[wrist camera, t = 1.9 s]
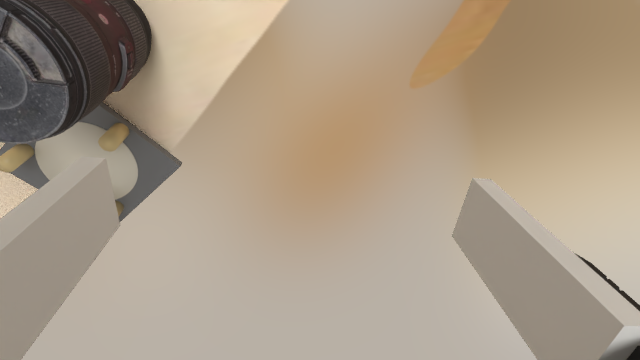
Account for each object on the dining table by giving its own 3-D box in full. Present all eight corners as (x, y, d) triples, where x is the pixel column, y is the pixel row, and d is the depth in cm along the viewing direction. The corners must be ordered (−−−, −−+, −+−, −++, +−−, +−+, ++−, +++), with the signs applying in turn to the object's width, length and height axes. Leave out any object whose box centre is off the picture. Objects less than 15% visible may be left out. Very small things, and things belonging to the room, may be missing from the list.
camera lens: (112, -48, 27) (-38, -54, 14) (179, 49, 31) (109, 109, 18) (34, 3, 28) (-167, 38, 15) (109, 89, 32) (-1, 171, 20)
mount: (-4, 157, 35) (-33, 177, 32) (64, 73, 31) (39, 86, 28) (113, 226, 41) (99, 248, 38) (182, 162, 37) (172, 181, 34)
